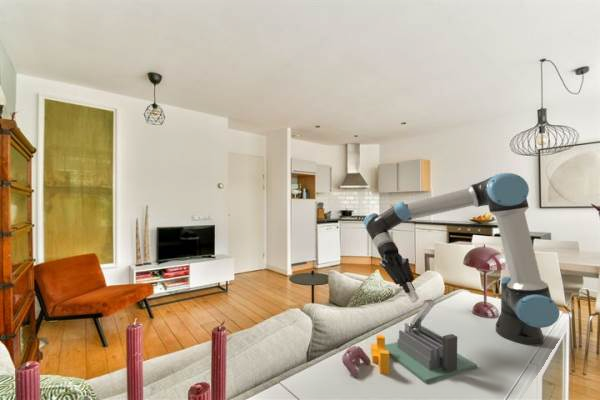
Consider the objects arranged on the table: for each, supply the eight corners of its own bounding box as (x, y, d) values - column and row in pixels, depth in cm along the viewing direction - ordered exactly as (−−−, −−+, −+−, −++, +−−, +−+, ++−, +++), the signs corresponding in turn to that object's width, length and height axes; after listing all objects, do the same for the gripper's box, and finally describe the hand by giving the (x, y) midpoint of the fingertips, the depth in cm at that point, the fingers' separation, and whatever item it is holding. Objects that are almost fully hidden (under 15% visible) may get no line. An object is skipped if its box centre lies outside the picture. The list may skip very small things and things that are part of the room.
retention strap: (416, 328, 101) (413, 323, 103) (436, 303, 93) (432, 298, 95) (409, 330, 100) (406, 324, 101) (429, 305, 92) (425, 299, 94)
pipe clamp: (370, 352, 98) (371, 334, 98) (383, 354, 97) (384, 335, 97) (374, 373, 86) (374, 352, 86) (388, 375, 85) (389, 353, 85)
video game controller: (361, 365, 93) (352, 343, 95) (372, 363, 90) (364, 340, 92) (346, 379, 85) (337, 355, 87) (358, 378, 83) (349, 353, 85)
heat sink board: (426, 338, 109) (426, 308, 109) (477, 367, 90) (477, 332, 90) (380, 348, 100) (380, 316, 100) (425, 383, 81) (425, 344, 81)
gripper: (394, 250, 120) (423, 303, 104) (368, 252, 115) (395, 307, 99) (403, 240, 115) (435, 293, 99) (376, 241, 110) (406, 297, 95)
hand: (415, 300), depth 99 cm, fingers closed
